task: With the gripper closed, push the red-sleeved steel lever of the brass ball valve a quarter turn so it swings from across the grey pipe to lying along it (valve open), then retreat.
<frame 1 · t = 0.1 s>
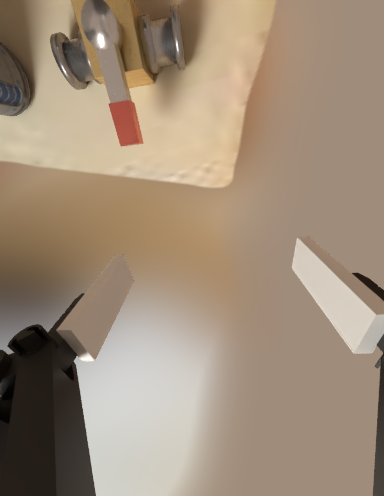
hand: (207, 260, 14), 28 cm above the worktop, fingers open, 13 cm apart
valve pipe: (128, 58, 28), on the worktop
lever: (116, 84, 23), point 8 cm above the worktop, hinge at 0.0°
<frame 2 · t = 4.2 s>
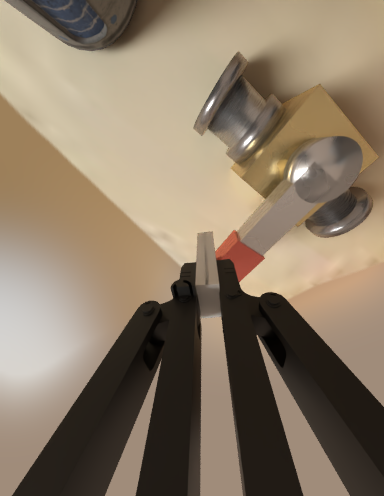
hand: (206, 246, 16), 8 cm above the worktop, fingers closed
valve pipe: (276, 161, 19), on the worktop
lever: (265, 226, 14), point 9 cm above the worktop, hinge at 3.0°, touching gripper
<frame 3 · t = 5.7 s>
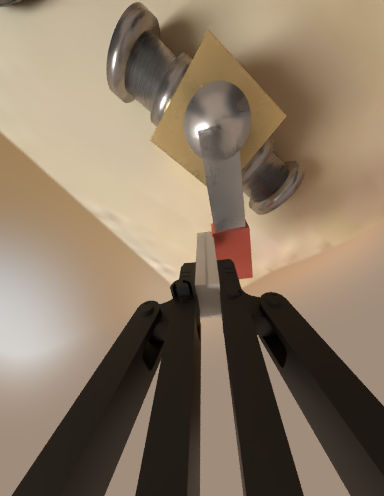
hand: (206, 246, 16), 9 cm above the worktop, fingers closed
valve pipe: (212, 134, 19), on the worktop
lever: (225, 202, 14), point 8 cm above the worktop, hinge at 49.2°, touching gripper
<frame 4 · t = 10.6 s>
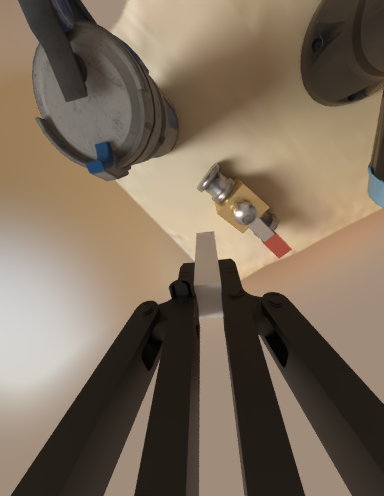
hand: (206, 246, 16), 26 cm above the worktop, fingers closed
beverage bottle: (151, 121, 33), on the worktop
valve pipe: (236, 200, 40), on the worktop
lever: (261, 230, 34), point 8 cm above the worktop, hinge at 85.6°
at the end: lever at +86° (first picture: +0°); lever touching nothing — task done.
